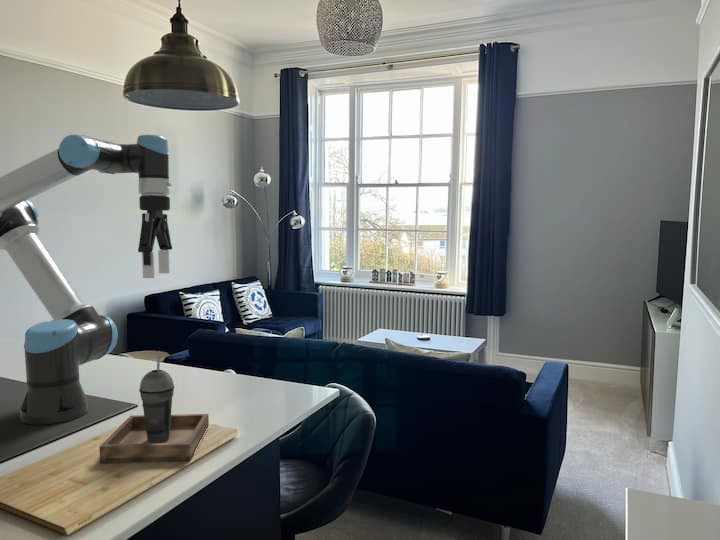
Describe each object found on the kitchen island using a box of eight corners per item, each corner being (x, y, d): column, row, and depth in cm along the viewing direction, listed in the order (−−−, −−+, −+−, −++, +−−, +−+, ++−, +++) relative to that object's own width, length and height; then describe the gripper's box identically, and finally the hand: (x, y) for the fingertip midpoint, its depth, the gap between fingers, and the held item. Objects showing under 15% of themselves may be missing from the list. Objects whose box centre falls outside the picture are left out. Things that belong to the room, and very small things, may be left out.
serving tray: (100, 463, 110) (99, 446, 110) (131, 430, 128) (130, 415, 128) (190, 460, 112) (190, 444, 111) (208, 428, 130) (208, 413, 129)
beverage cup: (164, 430, 125) (162, 345, 124) (182, 438, 121) (180, 349, 119) (134, 440, 120) (131, 350, 118) (151, 449, 115) (148, 355, 113)
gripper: (154, 192, 131) (157, 280, 133) (181, 197, 156) (183, 271, 158) (122, 192, 131) (125, 280, 133) (154, 197, 156) (156, 271, 158)
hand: (156, 275), depth 145 cm, fingers open, 13 cm apart
